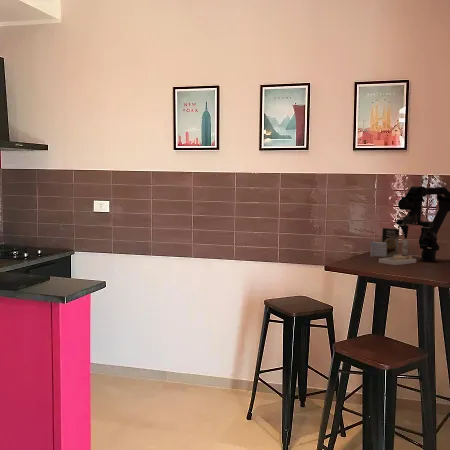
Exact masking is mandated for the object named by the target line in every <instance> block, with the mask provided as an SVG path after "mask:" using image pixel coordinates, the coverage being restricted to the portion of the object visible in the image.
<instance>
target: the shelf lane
mask: <svg viewBox="0 0 450 450" xmlns="http://www.w3.org/2000/svg"><path fill="white" fill-rule="evenodd" d="M379 263H380V264H385V265H390V266H391V265H392V266H401V265H409V264H414V263H417V258H412V259H406V260H398V261H393V257H382V258H378V264H379Z"/></svg>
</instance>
